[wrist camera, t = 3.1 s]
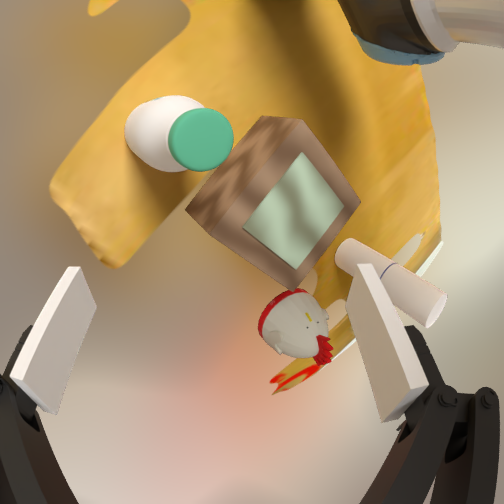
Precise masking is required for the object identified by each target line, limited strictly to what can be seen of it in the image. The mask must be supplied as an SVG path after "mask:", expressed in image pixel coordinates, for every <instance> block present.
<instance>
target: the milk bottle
mask: <svg viewBox="0 0 504 504" xmlns="http://www.w3.org/2000/svg"><path fill="white" fill-rule="evenodd" d="M124 133H125V139H126V142H127V144H128V146H129V148H130V149H131V150H132V151H133V152H134V153H135V154H136V155H137V156H138V157H139V158H140V159H142V160H143V161H144V162H145V163H147V164H148V165H150V166H151V167H153V168H155V169H158V170H161V171H166V172H180V171H185V170H188V169H189V170H192V171H198V172H203V171H208V170H212V169H214V168H216V167H218V166H219V165H221V164H222V163H223V162H224V161H225V160H226V159H227V157H228V156H229V154H230V152H231V150H232V146H233V140H234V137H233V130H232V127H231V125H230V123H229V121H228V120H227V119H226V118H225V117H224V116H223V115H222V114H221V113H219V112H217V111H215V110H213V109H208V108H205V107H204V106H202V105H201V104H200V103H199V102H197V101H195V100H193V99H191V98H188V97H185V96H178V95H172V96H165V97H161V98H157V99H154V100H151V101H148V102H145V103H143V104H141V105H139V106H138V107H137V108H135V109H134V110H133V111H132V112H131V114H130V115H129V117H128V119H127V121H126V124H125V131H124Z"/></svg>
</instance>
